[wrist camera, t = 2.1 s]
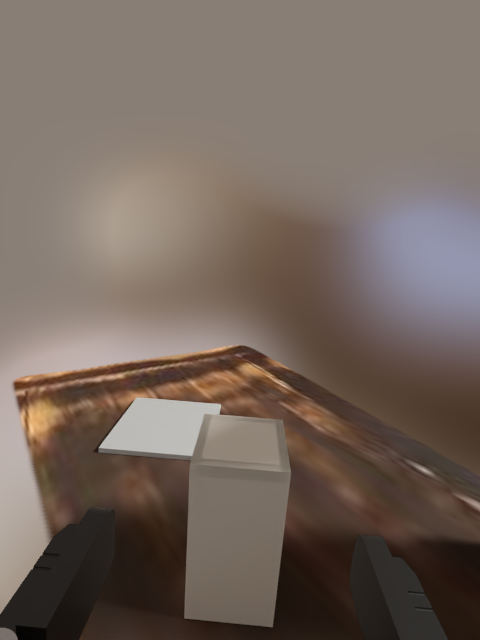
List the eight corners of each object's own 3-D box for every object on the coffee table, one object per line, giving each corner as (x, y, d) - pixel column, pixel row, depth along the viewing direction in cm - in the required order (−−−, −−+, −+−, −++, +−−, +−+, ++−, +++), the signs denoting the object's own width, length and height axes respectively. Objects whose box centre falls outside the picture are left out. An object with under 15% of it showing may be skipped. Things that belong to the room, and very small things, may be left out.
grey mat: (136, 401, 52) (136, 397, 52) (220, 407, 51) (220, 404, 51) (98, 452, 39) (98, 447, 39) (209, 462, 39) (209, 457, 39)
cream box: (198, 541, 29) (204, 413, 26) (269, 548, 28) (282, 420, 26) (184, 618, 23) (190, 463, 20) (272, 627, 23) (291, 472, 20)
